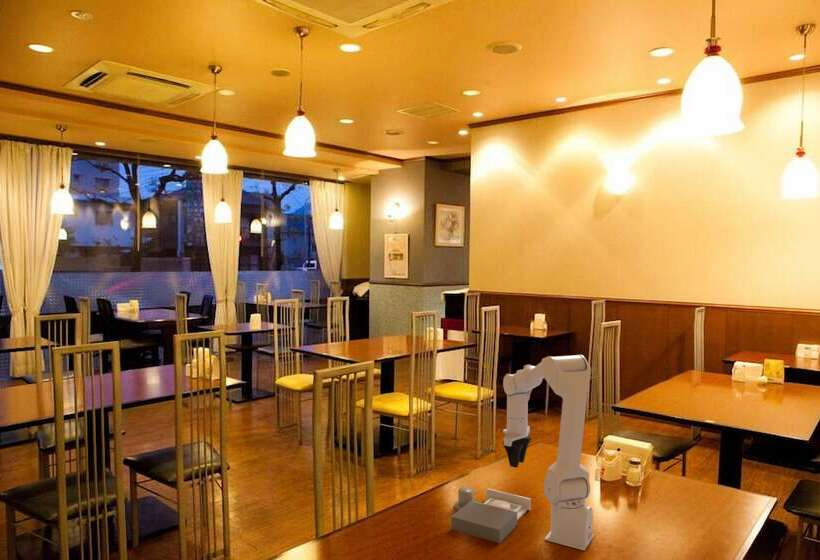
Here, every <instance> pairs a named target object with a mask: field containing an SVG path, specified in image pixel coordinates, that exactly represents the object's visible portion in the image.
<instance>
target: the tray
mask: <svg viewBox="0 0 820 560" xmlns="http://www.w3.org/2000/svg"><path fill="white" fill-rule="evenodd" d="M485 493H486V494H485V496H486V499H485V501H484V503H482V504H486V505H489V503H490V502H492V501H495V500H502V501H506V502H508V503H509V504H510V511H514V512H517V521H518V520H519V519H520V518H522V517H523V515H524V514H525V513H526V512H527V510H529V511H528V512H530V511H531V510H532V507H531V506H532V504H531V502H532V498H530V497H526V496H521V495H518V494H514V493H510V492H505V491H501V490H497V489H492V488H488V487H487V488H486V492H485Z"/></svg>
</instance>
